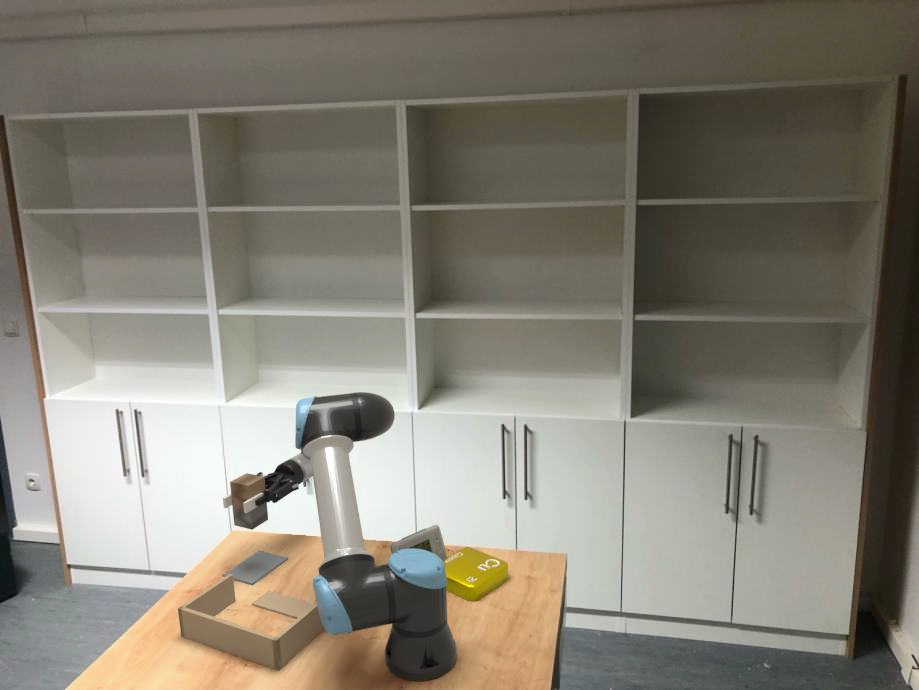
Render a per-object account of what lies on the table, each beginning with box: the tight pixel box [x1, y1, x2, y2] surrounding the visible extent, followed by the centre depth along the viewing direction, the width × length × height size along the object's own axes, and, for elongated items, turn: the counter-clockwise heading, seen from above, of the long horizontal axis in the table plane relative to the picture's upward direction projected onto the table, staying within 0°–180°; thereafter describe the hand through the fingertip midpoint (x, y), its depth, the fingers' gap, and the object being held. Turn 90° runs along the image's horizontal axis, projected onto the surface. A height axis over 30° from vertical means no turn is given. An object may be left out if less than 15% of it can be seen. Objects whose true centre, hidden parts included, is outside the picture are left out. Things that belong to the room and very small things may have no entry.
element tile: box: [442, 546, 509, 602], centre depth 179 cm, size 15×15×5 cm
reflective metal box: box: [229, 473, 269, 530], centre depth 182 cm, size 6×6×12 cm
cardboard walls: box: [177, 574, 325, 671], centre depth 162 cm, size 28×22×7 cm
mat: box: [222, 549, 289, 586], centre depth 188 cm, size 10×14×1 cm
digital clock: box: [390, 524, 448, 560], centre depth 183 cm, size 16×9×11 cm, turn 121°
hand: (234, 505), depth 178 cm, fingers closed on reflective metal box, 6 cm apart
